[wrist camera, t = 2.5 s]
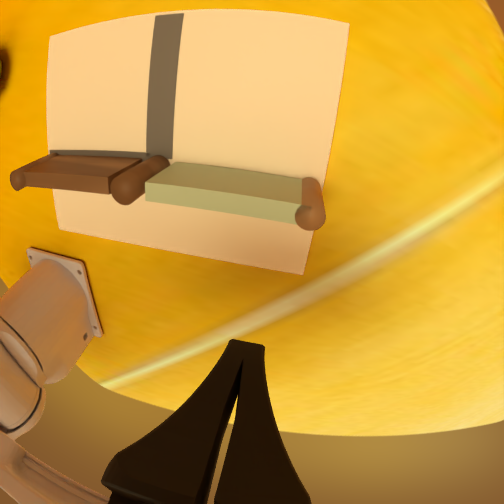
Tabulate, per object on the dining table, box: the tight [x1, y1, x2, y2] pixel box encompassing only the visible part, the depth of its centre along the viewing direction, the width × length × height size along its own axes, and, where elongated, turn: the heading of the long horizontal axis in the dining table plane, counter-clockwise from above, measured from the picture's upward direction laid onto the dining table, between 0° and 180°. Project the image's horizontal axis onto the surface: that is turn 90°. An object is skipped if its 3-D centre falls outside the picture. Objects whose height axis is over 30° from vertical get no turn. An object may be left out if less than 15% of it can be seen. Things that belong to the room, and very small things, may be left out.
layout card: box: [47, 9, 349, 275], centre depth 17 cm, size 16×20×1 cm
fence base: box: [10, 153, 170, 205], centre depth 16 cm, size 2×11×4 cm, turn 83°
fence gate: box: [145, 162, 326, 231], centre depth 15 cm, size 9×1×4 cm, turn 84°
